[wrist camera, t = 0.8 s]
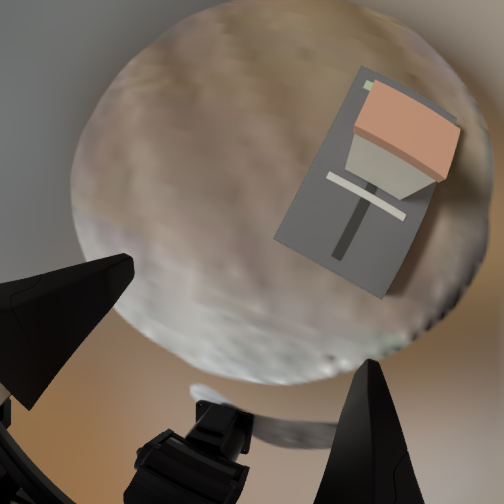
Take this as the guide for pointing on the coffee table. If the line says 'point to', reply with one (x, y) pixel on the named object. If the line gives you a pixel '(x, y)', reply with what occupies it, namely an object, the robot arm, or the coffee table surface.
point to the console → (354, 204)
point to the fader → (400, 143)
